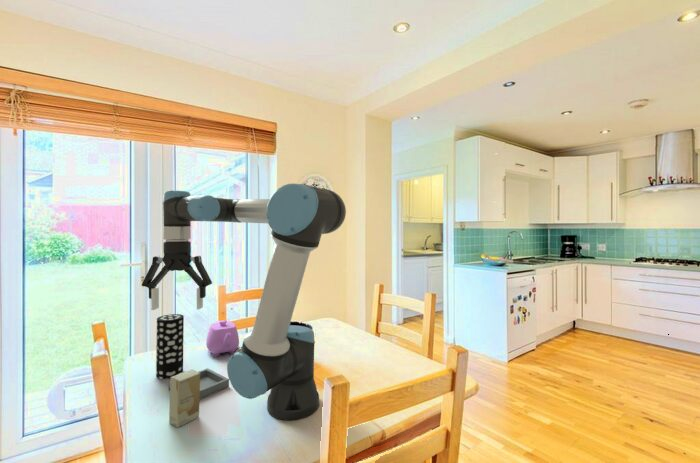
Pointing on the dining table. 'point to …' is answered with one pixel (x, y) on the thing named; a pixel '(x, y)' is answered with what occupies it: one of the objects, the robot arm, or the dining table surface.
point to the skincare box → (184, 397)
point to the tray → (211, 382)
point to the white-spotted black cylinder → (169, 346)
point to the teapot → (222, 338)
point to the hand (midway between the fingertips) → (177, 308)
